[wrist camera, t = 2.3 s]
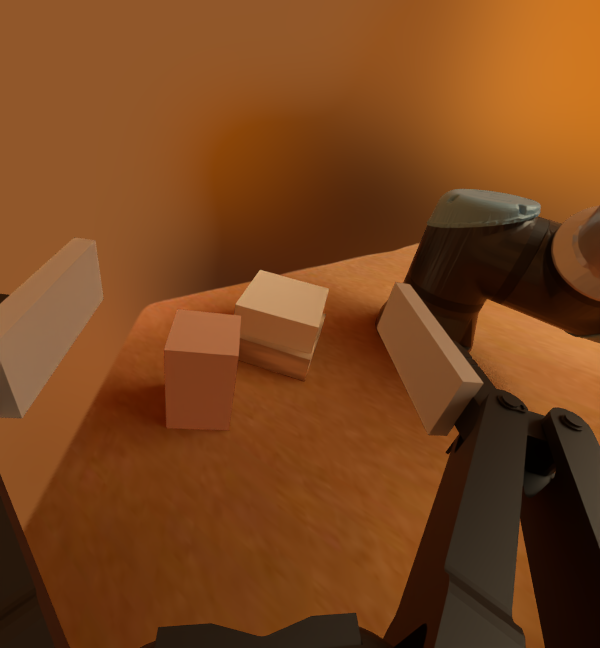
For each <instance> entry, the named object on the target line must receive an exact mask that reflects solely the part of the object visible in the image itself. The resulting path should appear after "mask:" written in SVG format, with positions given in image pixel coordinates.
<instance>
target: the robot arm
mask: <svg viewBox="0 0 600 648" xmlns="http://www.w3.org/2000/svg"><path fill="white" fill-rule="evenodd" d="M540 208H541V206H540V204H539V203H538V202H536V201H534V200H531V199H526V198H521V197H519V196H515V195H510V194H504V193H499V192H493V191H484V190H475V189H456V190H451V191H449V192H447V193H445V194H444V195H443V196H442V197H441V198H440V200H439V202H438V204H437V206H436V208H435V210H434V212H433V214H432V216H431V218H430V219H429V220H428V222H427V228H426V230H425V232H424V235H423V237H422V240H421V242H420V244H419V247H418V249H417V252H416V254H415V256H414V259H413V261H412V263H411V266H410V268H409V271H408V273H407V275H406V278H405V280H404V282H403V283H398V282H395V284H394V287H393V289H392V291H391V294H390V296H389V299H388V300H387V302H386V303H385V304H384V305H383V306H382V308H381V309H380V311H379V314H378V316H377V319H376V328H377V331H378V333H379V335H380V336H381V338H382V340H383V342H384V345H385V347H386V349H387V351H388V353H389V355H390V357H391V359H392V361H393V363H394V365H395V367H396V369H397V371H398V373H399V376H400V378H401V380H402V382H403V384H404V386H405V388H406V390H407V392H408V394H409V396H410V398H411V400H412V402H413V404H414V406H415V409H416V411H417V413H418V415H419V417H420V419H421V421H422V423H423V425H424V427H425V429H426V431H427V433H428V435H440V436H447V435H448V433H449V432H450V430H451V429H452V428H453V426H454V425H455V426H456V428H457V430H458V432H459V435H458V436H457V438H456V439H455V440H454V442H453V443H452V444H451V446H450V447H449V449H448V450H447V451H446V453H447V454H449V453H450V452H451V453H450V456H449V459H448V462H447V465H446V468H445V471H444V474H443V477H442V480H441V483H440V486H439V489H438V492H437V495H436V498H435V500H434V503H433V506H432V509H431V512H430V515H429V518H428V521H427V524H426V527H425V530H424V533H423V536H422V539H421V542H420V545H419V548H418V551H417V554H416V557H415V560H414V563H413V566H412V569H411V572H410V575H409V578H408V581H407V584H406V587H405V590H404V593H403V596H402V599H401V602H400V605H399V608H398V610H397V613H396V615H395V617H394V619H393V621H392V623H391V624H390V626H389V628H388V630H387V632H386V634H385V636H384V638H383V639H382V638H380V637H379V636H377V635H376V634H374V633H372V632H370V631H368V630H366V629H364V628H362V627H359V626H358V621H357V616H356V613H347V614H333V615H320V616H311V617H308V618H306V619H304V620H302V621H299V622H297V623H295V624H293V625H290V626H288V627H286V628H284V629H281V630H279V631H277V632H274V633H272V634H270V635H267V636H256V635H252V634H248V633H245V632H241V631H237V630H234V629H230V628H226V627H223V626H219V625H215V624H211V623H210V624H196V625H182V626H169V627H158V632H157V638H156V641H154V642H151V643H149V644H146V645H144V646H142V647H140V648H526V647H525V636H524V633H523V630H522V628H520V627H519V626H518V625H516V624H515V623H514V622H513V619H512V604H513V592H514V581H515V569H516V557H517V546H518V534H519V523H520V521H521V526H522V531H523V536H524V541H525V546H526V552H527V557H528V562H529V567H530V572H531V577H532V582H533V588H534V593H535V598H536V603H537V608H538V613H539V618H540V624H541V629H542V634H543V639H544V644H545V648H600V446H599V444H598V441H597V439H596V437H595V435H594V433H593V431H592V430H591V428H590V427H589V425H588V424H587V423H586V422H585V421H584V420H583V419H582V418H581V417H579V416H577V415H576V414H575V413H573V412H570V411H568V410H566V409H562V408H552V409H551V410H550V411H549V412H548V414H547V415H546V416H543V415H540V414H537V413H534V412H531V411H528V409H527V407H526V406H525V404H524V403H523V402H522V401H521V400H520V399H518V398H517V397H516V396H514V395H512V394H511V393H509V392H506V391H504V390H499V389H496V388H495V386H494V385H493V384H492V383H491V381H490V380H489V379H488V377H487V376H486V375H485V374H484V372H483V371H482V370H481V368H480V367H478V364H477V363H476V362H475V361H474V359H472V357H471V355H470V354H469V352H470V351H471V349H472V346H473V340H474V334H475V329H476V323H477V318H478V313H479V311H480V310H481V308H482V306H483V304H484V303H485V301H486V300H487V299H488V300H491V301H494V302H496V303H499V304H501V305H504V306H506V307H509V308H511V309H514V310H516V311H518V312H521V313H523V314H526V315H528V316H531V317H533V318H536V319H538V320H540V321H543V322H545V323H548V324H550V325H553V326H555V327H557V328H560V329H562V330H564V331H565V332H567V333H568V334H570V335H572V336H575V337H580V338H585V339H588V340H591V341H594V342H597V343H600V206H596V207H591V208H587V209H584V210H582V211H580V212H578V213H576V214H574V215H572V216H571V217H570V218H568V219H567V220H566V221H565V222H564V223H563V224H561V223H558V222H555V221H552V220H547V219H544V218H541V217H538V215H539V214H540ZM102 300H103V292H102V285H101V278H100V271H99V263H98V256H97V249H96V242H95V240H88V239H80V238H73V239H72V240H71V241H70V242H69V243H68V244H66V245H65V246H64V247H63V248H62V249H61V250H60V251H59V252H58V253H56V254H55V255H54V256H53V257H52V258H51V259H50V260H49V261H47V262H46V263H45V264H44V265H43V266H42V267H41V268H40V269H39V270H38V271H36V272H35V273H34V274H33V275H32V276H31V277H30V278H28V279H27V280H26V281H25V282H24V283H23V284H22V285H21V286H20V287H18V288H17V289H16V290H15V291H14V292H13V293H12V294H11V295H6V294H0V417H2V418H4V417H5V418H23V416H24V415H25V413H26V412H27V411H28V409H29V408H30V406H31V405H32V403H33V402H34V400H35V399H36V397H37V396H38V394H39V393H40V391H41V390H42V388H43V387H44V385H45V384H46V383H47V381H48V380H49V378H50V377H51V375H52V374H53V372H54V371H55V369H56V368H57V366H58V365H59V363H60V362H61V360H62V359H63V358H64V356H65V355H66V353H67V352H68V350H69V349H70V347H71V346H72V344H73V343H74V341H75V340H76V338H77V337H78V335H79V334H80V332H81V331H82V330H83V328H84V327H85V325H86V324H87V322H88V321H89V319H90V318H91V316H92V315H93V313H94V312H95V310H96V309H97V307H98V306H99V304H100V303H101V301H102ZM0 648H70V647H69V644H68V642H67V640H66V638H65V635H64V633H63V630H62V628H61V625H60V623H59V620H58V618H57V615H56V613H55V610H54V608H53V605H52V603H51V600H50V598H49V595H48V593H47V590H46V588H45V585H44V583H43V580H42V578H41V575H40V573H39V570H38V568H37V565H36V563H35V560H34V558H33V555H32V553H31V550H30V548H29V545H28V543H27V540H26V538H25V535H24V533H23V530H22V528H21V525H20V523H19V520H18V518H17V515H16V513H15V510H14V508H13V505H12V503H11V500H10V498H9V495H8V492H7V490H6V488H5V485H4V482H3V480H2V477H1V475H0Z"/></svg>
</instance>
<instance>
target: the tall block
mask: <svg viewBox="0 0 600 648" xmlns="http://www.w3.org/2000/svg"><path fill="white" fill-rule="evenodd" d="M240 325H241V316H238V315H229V314H219V313H210V312H200V311H191V310H181V309H177V312H176V315H175V318H174V321H173V324H172V327H171V330H170V333H169V336H168V339H167V342H166V345H165V348H164V369H165V401H166V428H180V429H206V430H229V426H230V418H231V411H232V403H233V395H234V388H235V380H236V373H237V365H238V357H239V342H240Z"/></svg>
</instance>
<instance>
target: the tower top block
mask: <svg viewBox="0 0 600 648" xmlns="http://www.w3.org/2000/svg"><path fill="white" fill-rule="evenodd" d="M328 291H329V289H328V288H324V287H321V286H317V285H313V284H310V283H306V282H302V281H299V280H295V279H291V278H288V277H284V276H280V275H277V274H273V273H269V272H266V271H262V270H260V271H259V272H258V274H257V275H256V276H255V278H254V279H253V280H252V282H251V283H250V285H249V286H248V287H247V289H246V290H245V292H244V293H243V294H242V296H241V297H240V299H239V300H238V301H237V303H236V304H235V312H234V315H238V316H241V325H240V334H242V335H245V336H249V337H253V338H256V339H260V340H263V341H267V342H270V343H274V344H277V345H281V346H284V347H288V348H291V349H295V350H299V351H302V352H306V353H309V354H311V353H312V349H313V346H314V342H315V339H316V335H317V332H318V328H319V324H320V321H321V317H322V313H323V310H324V306H325V302H326V298H327V295H328Z"/></svg>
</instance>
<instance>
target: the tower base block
mask: <svg viewBox="0 0 600 648" xmlns="http://www.w3.org/2000/svg"><path fill="white" fill-rule="evenodd" d="M325 316H326V314H323V313H322V317H321V321H320V324H319V328H318V332H317V335H316V339H315V342H314V346H313V349H312V353H311V354H309V353H306V352H302V351H299V350H295V349H291V348H288V347H284V346H281V345H277V344H274V343H270V342H267V341H263V340H260V339H256V338H253V337H249V336H245V335H242V334H240V342H239V357H238V360H239V361H243V362H246V363H249V364H252V365H255V366H258V367H261V368H264V369H267V370H270V371H274V372H277V373H280V374H283V375H286V376H289V377H292V378H295V379H298V380H302V381H305V378H306V375H307V372H308V369H309V366H310V363H311V360H312V357H313V354H314V351H315V348H316V345H317V342H318V339H319V336H320V333H321V330H322V326H323V323H324V320H325Z"/></svg>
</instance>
